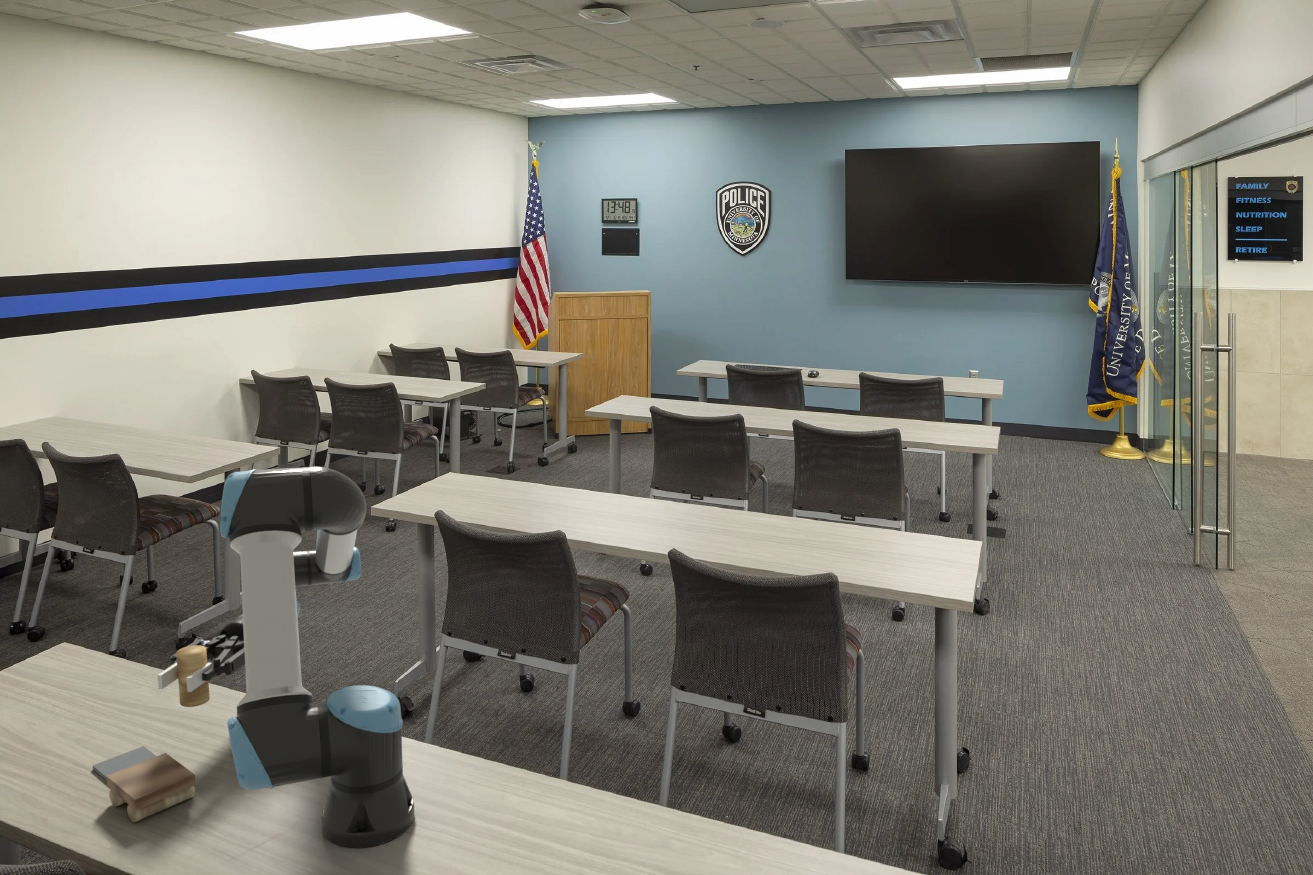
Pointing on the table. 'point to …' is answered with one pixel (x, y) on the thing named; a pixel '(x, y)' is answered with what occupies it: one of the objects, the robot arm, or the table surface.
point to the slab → (151, 786)
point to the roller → (186, 665)
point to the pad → (122, 761)
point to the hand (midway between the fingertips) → (174, 683)
